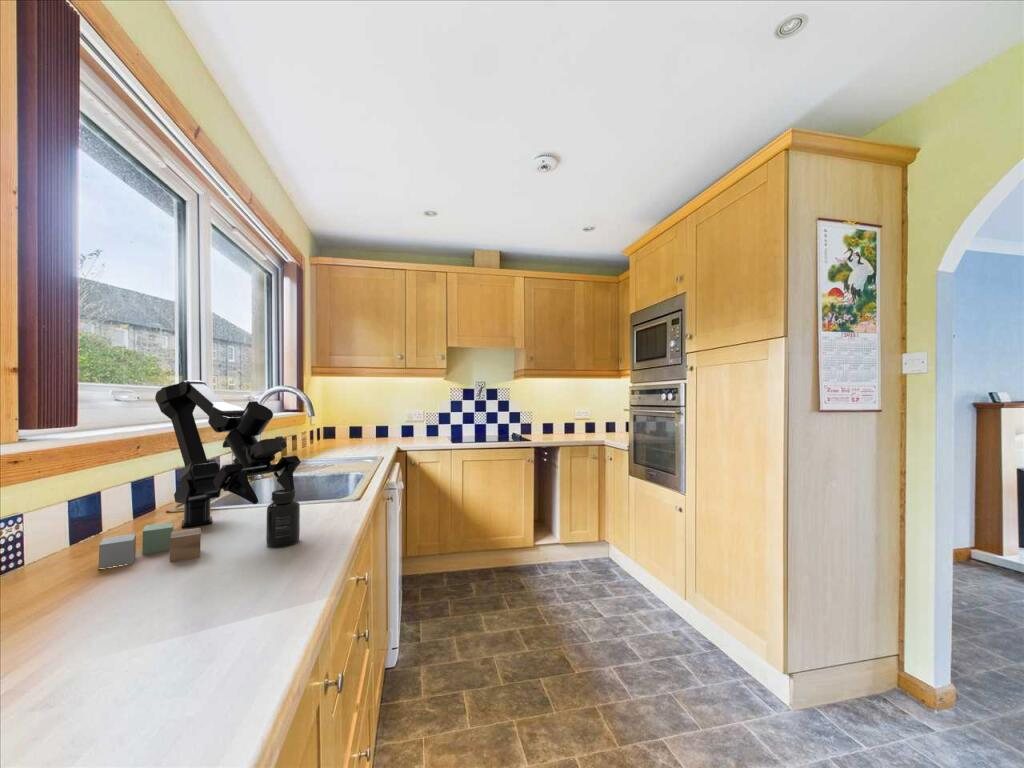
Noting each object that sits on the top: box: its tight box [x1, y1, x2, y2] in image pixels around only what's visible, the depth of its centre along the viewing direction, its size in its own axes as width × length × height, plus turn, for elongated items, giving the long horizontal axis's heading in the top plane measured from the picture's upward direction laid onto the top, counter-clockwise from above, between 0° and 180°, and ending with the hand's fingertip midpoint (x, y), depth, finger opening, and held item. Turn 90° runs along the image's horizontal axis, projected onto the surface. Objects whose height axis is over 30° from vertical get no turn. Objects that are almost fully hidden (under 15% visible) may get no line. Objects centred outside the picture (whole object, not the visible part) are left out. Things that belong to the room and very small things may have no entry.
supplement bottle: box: [265, 488, 301, 548], centre depth 99 cm, size 7×7×12 cm
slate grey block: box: [98, 533, 137, 569], centre depth 87 cm, size 5×5×5 cm
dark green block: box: [141, 521, 175, 555], centre depth 95 cm, size 5×5×5 cm
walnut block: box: [169, 527, 202, 563], centre depth 91 cm, size 5×5×5 cm
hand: (275, 498), depth 101 cm, fingers open, 9 cm apart
